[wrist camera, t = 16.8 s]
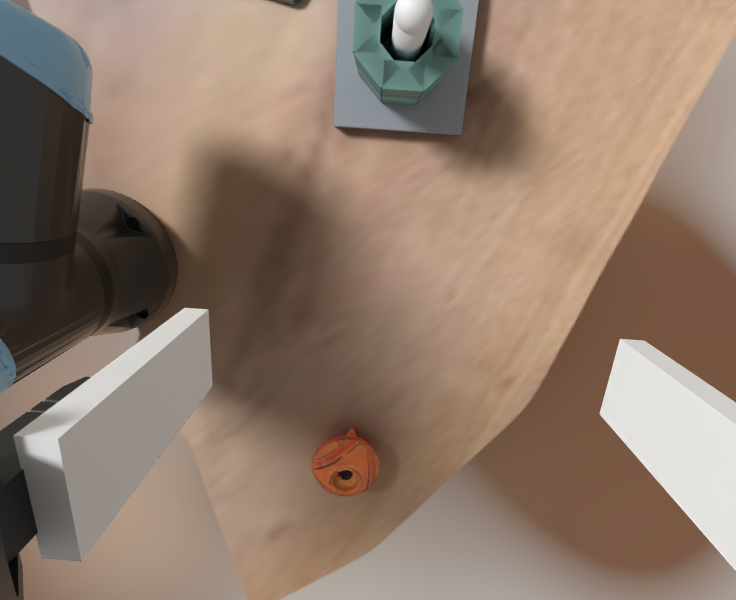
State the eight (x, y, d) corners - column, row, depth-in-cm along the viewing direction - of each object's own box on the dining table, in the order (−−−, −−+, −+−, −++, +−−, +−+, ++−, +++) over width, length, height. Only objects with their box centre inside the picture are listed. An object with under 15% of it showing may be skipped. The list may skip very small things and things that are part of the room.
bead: (356, 101, 39) (351, 86, 31) (361, 5, 37) (356, -37, 29) (439, 106, 39) (454, 93, 31) (449, 10, 36) (467, -30, 29)
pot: (313, 417, 51) (319, 453, 45) (375, 417, 53) (389, 452, 47) (306, 472, 53) (310, 514, 47) (366, 471, 55) (378, 511, 49)
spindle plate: (335, 126, 41) (311, 108, 27) (340, -20, 37) (317, -129, 23) (458, 135, 41) (499, 121, 27) (476, -11, 37) (535, -114, 23)
